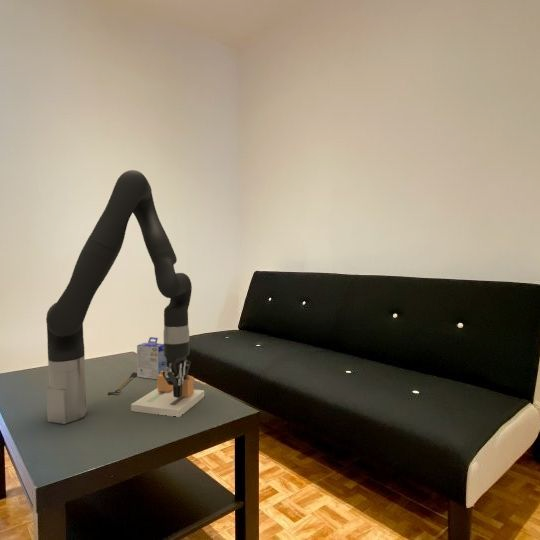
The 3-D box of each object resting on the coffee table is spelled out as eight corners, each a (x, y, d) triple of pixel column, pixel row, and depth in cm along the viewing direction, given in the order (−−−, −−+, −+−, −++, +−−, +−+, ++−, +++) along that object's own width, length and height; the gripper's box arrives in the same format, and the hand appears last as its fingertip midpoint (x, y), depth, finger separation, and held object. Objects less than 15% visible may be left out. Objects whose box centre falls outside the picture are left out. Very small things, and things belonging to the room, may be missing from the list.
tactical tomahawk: (126, 398, 128) (126, 395, 128) (106, 396, 129) (106, 393, 129) (149, 376, 149) (149, 373, 149) (132, 374, 150) (132, 371, 149)
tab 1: (168, 392, 125) (168, 374, 124) (157, 390, 126) (157, 373, 125) (175, 387, 128) (174, 370, 128) (164, 386, 129) (163, 369, 129)
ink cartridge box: (167, 375, 148) (167, 337, 147) (159, 380, 143) (158, 341, 142) (145, 372, 151) (144, 335, 150) (136, 377, 146) (135, 339, 145)
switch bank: (179, 417, 111) (179, 410, 111) (131, 411, 116) (130, 404, 116) (204, 396, 127) (204, 390, 126) (160, 391, 131) (160, 385, 131)
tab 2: (187, 397, 120) (187, 378, 120) (176, 395, 121) (175, 377, 121) (194, 392, 124) (193, 374, 124) (182, 391, 125) (182, 373, 125)
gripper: (176, 346, 110) (177, 406, 111) (198, 335, 122) (199, 390, 123) (152, 344, 112) (154, 403, 113) (177, 334, 124) (178, 387, 125)
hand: (177, 396), depth 118 cm, fingers closed
